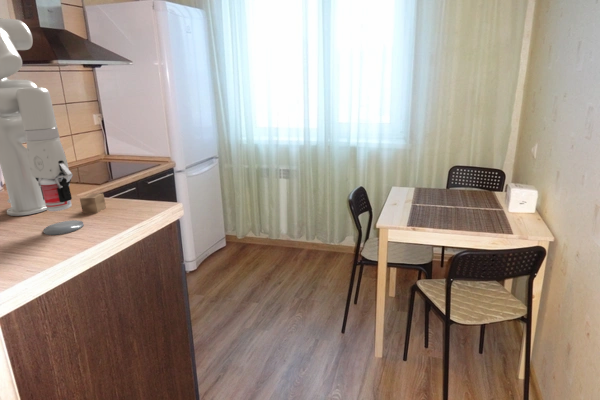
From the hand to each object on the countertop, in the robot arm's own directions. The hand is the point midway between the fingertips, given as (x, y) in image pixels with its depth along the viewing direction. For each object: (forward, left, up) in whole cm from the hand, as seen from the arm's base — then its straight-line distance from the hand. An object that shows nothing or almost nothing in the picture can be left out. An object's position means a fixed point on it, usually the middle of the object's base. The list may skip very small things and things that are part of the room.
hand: (57, 199), depth 112 cm
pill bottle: (0, 0, -3) cm, 3 cm away
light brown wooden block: (-6, +15, -9) cm, 19 cm away
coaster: (0, 0, -9) cm, 9 cm away
